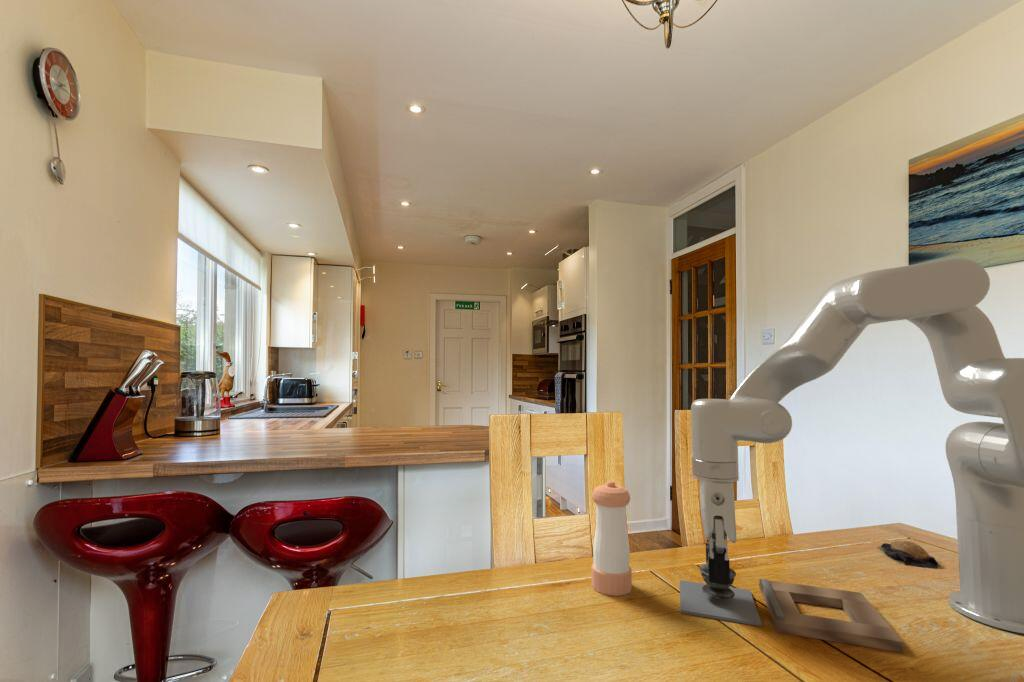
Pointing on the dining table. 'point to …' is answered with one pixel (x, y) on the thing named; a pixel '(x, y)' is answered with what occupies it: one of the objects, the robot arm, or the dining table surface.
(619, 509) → the pepper shaker
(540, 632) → the dining table surface
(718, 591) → the salt shaker
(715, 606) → the slate mat
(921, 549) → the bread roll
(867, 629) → the brown wooden square frame
